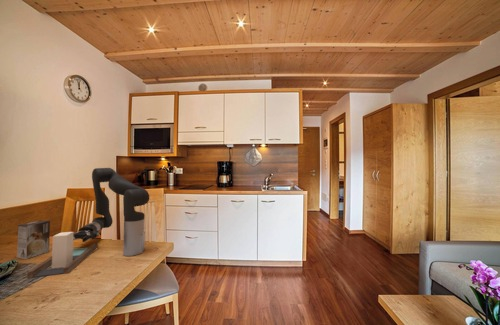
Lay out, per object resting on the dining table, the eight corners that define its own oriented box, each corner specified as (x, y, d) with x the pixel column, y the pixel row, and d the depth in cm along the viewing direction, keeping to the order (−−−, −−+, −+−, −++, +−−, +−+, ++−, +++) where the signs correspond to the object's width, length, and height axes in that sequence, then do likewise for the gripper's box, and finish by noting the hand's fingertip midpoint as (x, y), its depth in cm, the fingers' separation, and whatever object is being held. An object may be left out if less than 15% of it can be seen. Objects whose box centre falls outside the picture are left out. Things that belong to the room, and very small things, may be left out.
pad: (94, 247, 105) (94, 246, 105) (85, 255, 96) (85, 254, 96) (72, 249, 102) (72, 248, 102) (61, 257, 93) (61, 256, 93)
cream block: (72, 261, 90) (73, 231, 90) (65, 266, 85) (66, 235, 85) (59, 263, 88) (60, 232, 89) (51, 268, 84) (52, 236, 84)
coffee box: (40, 250, 101) (41, 219, 102) (49, 251, 100) (50, 220, 100) (16, 258, 92) (17, 224, 93) (25, 259, 91) (27, 225, 91)
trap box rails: (98, 247, 106) (98, 242, 106) (68, 273, 80) (68, 267, 80) (68, 249, 102) (68, 245, 102) (27, 278, 76) (27, 271, 76)
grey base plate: (84, 255, 96) (84, 254, 96) (63, 273, 80) (63, 272, 80) (60, 258, 93) (60, 257, 93) (32, 277, 77) (32, 276, 77)
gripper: (74, 224, 108) (55, 234, 92) (104, 223, 112) (90, 232, 96) (74, 238, 107) (54, 250, 92) (104, 235, 112) (89, 247, 96)
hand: (72, 240), depth 94 cm, fingers open, 8 cm apart
